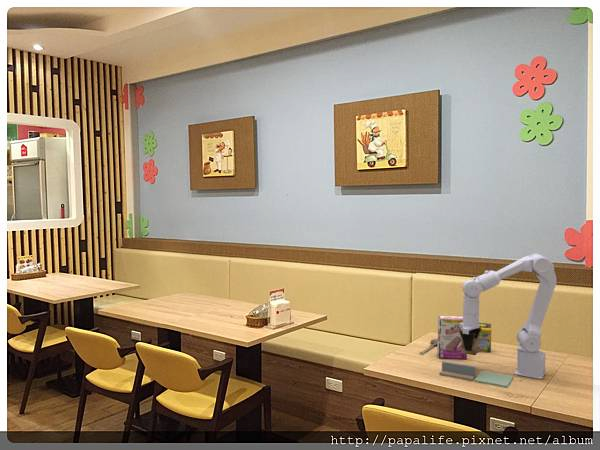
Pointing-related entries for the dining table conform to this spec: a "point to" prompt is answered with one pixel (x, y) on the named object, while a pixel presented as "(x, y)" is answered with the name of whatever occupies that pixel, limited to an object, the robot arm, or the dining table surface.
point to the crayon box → (485, 338)
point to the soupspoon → (434, 341)
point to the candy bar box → (450, 337)
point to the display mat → (494, 379)
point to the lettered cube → (474, 348)
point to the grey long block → (458, 371)
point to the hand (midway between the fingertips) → (470, 348)
